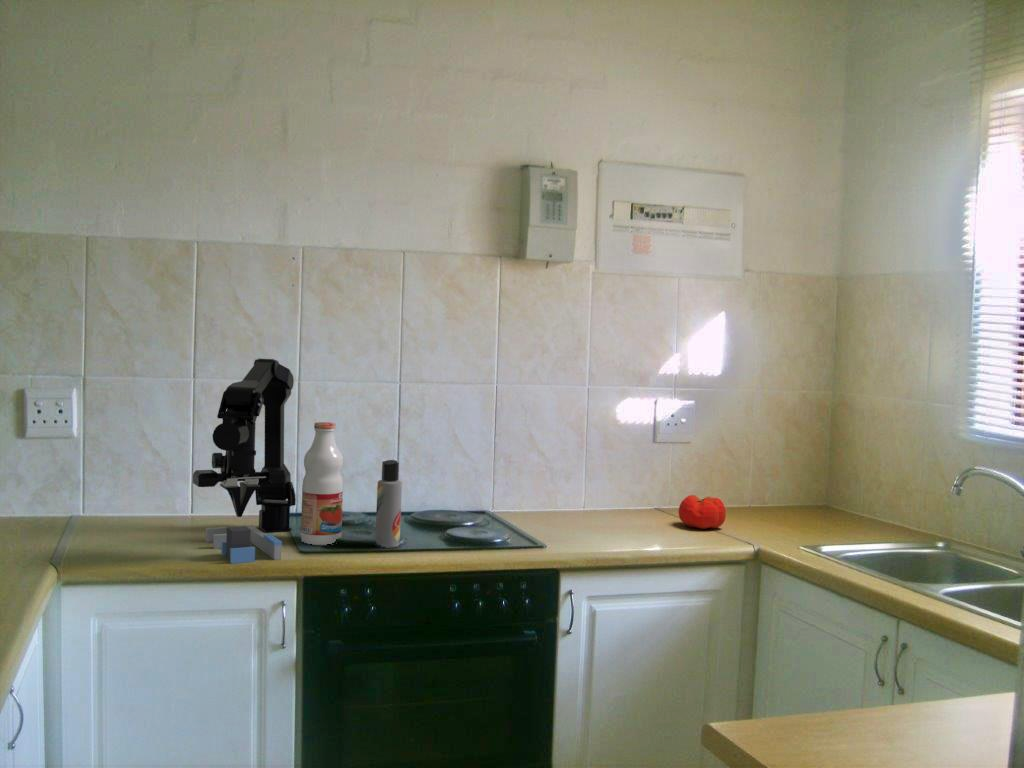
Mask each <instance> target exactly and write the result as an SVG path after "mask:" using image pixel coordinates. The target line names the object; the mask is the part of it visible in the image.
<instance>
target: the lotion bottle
mask: <svg viewBox="0 0 1024 768" xmlns="http://www.w3.org/2000/svg"><path fill="white" fill-rule="evenodd" d="M381 463H382V464H381V480H378V481H377V487H376V488H377V489H376V490H377V491H376V515H375V538H374V539H375V541H376V542H377V543H378V544H379V545H381V546H382V547H381V548H383V547H385V549H386V548H387V549H390V548H393V549H394V548H398V547H399V546H400V537H401V521H402V520H401V516H402V494H403V493H402V492H403V490H402V488H403V483H402V481H401V480H399V472H400V471H399V467H400V465H399V464H400V463H399V462H398V461H397V460H396V459H387V460H384V461H382V462H381Z"/></svg>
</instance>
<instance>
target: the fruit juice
mask: <svg viewBox="0 0 1024 768" xmlns="http://www.w3.org/2000/svg"><path fill="white" fill-rule="evenodd" d="M336 428H337V426H336V423H334V422H329V421H327V422H326V421H325V422H323V421H322V422H320V421H319V422H314V431H315V433H314V437H313V441H312V444H311V447H309V449H307V452H306V453H305V455H304V457H303V467H304V469H305V470H304V471H305V474H304V477H303V478H302V489H301V490H302V491H301V492H302V493H301V520H300V527H301V528H300V539H301V542H302V543H303V542H304V544H306V543H307V544H306V545H310V544H312V546H328V545H327V544H331V545H333V544H332V543H334V542H335V541H336V539H338V538H340V537H341V538H342V526H343V525H342V524H343V501H344V499H343V498H344V497H343V496H344V493H343V492H344V479H343V476H342V469H343V466H344V457H343V454H342V452H341V450H340V449H339V447H338V445H337V442H336V438H335V431H336Z"/></svg>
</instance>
